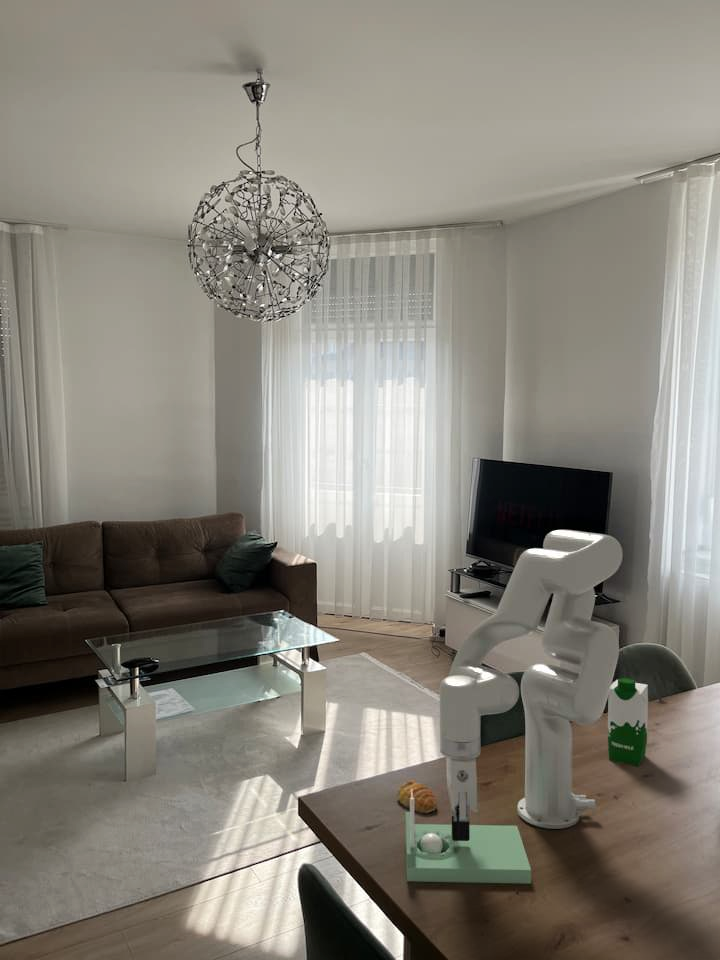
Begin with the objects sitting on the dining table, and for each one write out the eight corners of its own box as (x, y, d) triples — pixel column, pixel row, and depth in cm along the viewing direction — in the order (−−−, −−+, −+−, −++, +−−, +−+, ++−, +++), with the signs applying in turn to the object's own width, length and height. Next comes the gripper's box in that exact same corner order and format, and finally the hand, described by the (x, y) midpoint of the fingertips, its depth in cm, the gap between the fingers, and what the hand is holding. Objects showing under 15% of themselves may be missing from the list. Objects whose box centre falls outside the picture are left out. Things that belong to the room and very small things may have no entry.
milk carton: (604, 760, 183) (605, 680, 182) (613, 747, 191) (614, 669, 190) (641, 769, 179) (643, 686, 177) (649, 755, 186) (651, 675, 185)
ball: (414, 847, 144) (434, 858, 144) (417, 853, 140) (437, 864, 140) (425, 826, 145) (444, 837, 145) (428, 831, 141) (448, 843, 141)
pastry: (445, 809, 161) (445, 791, 161) (421, 819, 157) (421, 801, 157) (416, 792, 168) (416, 775, 168) (393, 801, 165) (393, 784, 164)
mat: (517, 838, 149) (517, 813, 149) (531, 883, 134) (531, 856, 134) (405, 836, 150) (405, 811, 149) (407, 881, 135) (406, 854, 135)
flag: (413, 860, 141) (413, 788, 140) (414, 874, 137) (414, 799, 136) (409, 860, 141) (409, 788, 140) (410, 874, 137) (409, 799, 136)
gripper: (485, 761, 133) (485, 861, 134) (475, 727, 148) (476, 818, 149) (442, 761, 133) (443, 861, 135) (437, 727, 148) (438, 817, 149)
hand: (460, 838), depth 142 cm, fingers closed
